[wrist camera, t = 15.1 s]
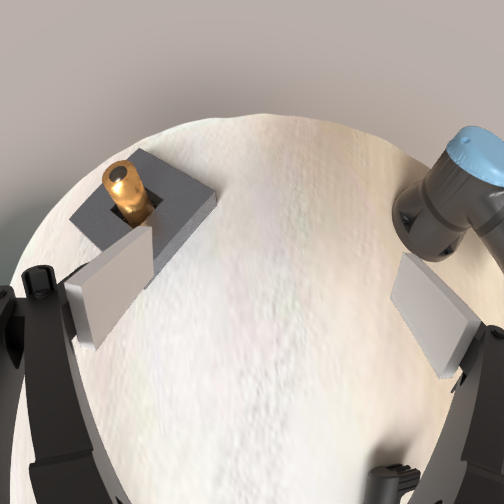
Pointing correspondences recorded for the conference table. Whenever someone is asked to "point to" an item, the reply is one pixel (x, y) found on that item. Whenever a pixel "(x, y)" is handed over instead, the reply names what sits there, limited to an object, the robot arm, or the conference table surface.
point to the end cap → (390, 483)
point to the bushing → (128, 192)
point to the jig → (161, 219)
